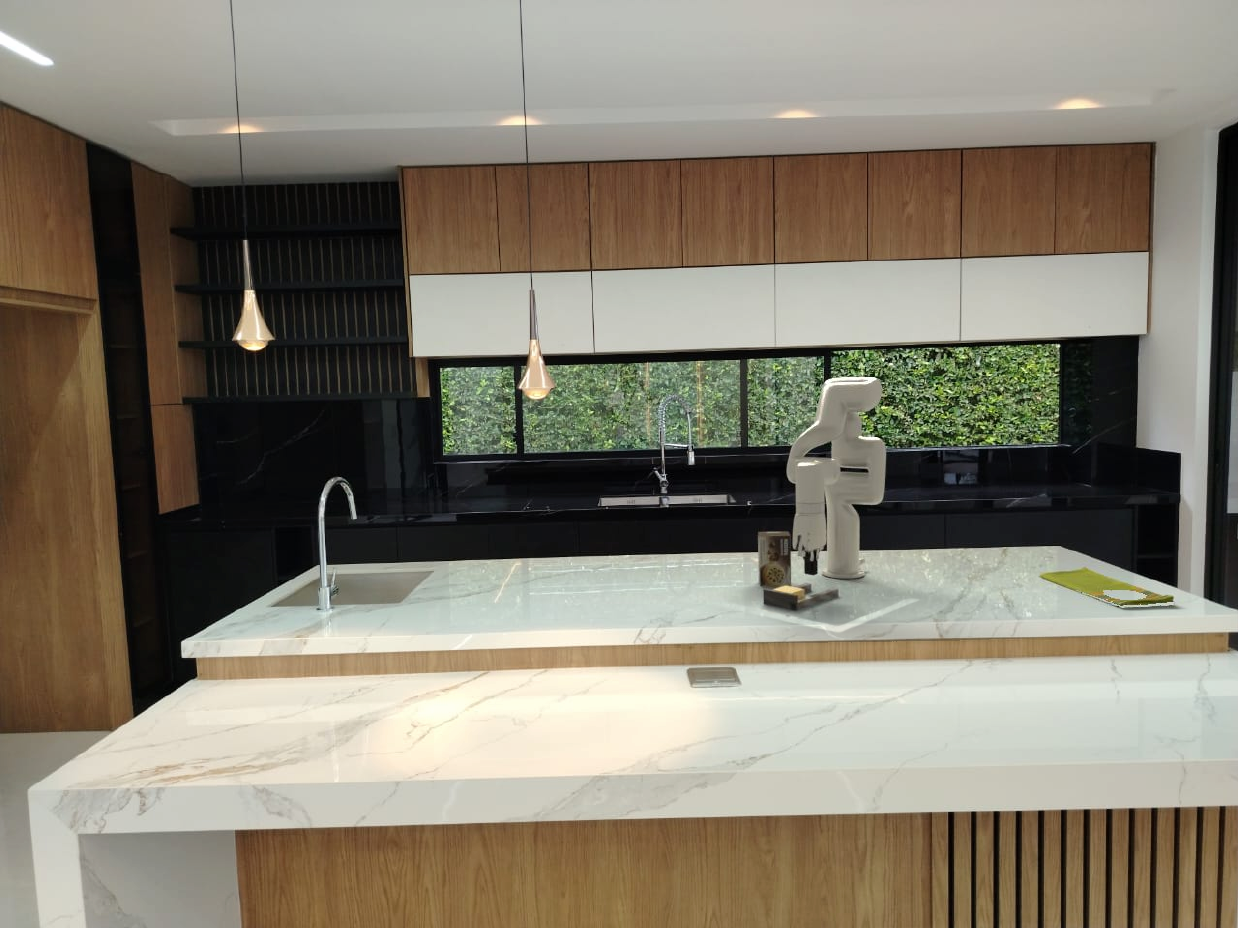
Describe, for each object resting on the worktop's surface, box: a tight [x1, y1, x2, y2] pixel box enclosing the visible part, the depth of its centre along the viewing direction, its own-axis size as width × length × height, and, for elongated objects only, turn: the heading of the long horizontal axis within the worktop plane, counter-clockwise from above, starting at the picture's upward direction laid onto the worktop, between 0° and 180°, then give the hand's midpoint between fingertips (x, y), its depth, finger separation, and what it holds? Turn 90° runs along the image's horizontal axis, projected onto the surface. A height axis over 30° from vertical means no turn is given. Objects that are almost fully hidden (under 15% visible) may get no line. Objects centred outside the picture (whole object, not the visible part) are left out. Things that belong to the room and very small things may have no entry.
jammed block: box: [772, 585, 805, 599], centre depth 227 cm, size 6×6×4 cm
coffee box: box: [757, 531, 792, 587], centre depth 249 cm, size 9×6×16 cm
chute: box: [763, 582, 839, 612], centre depth 231 cm, size 20×14×5 cm
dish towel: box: [1038, 566, 1175, 606], centre depth 239 cm, size 15×36×3 cm, turn 7°
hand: (811, 573), depth 234 cm, fingers closed
